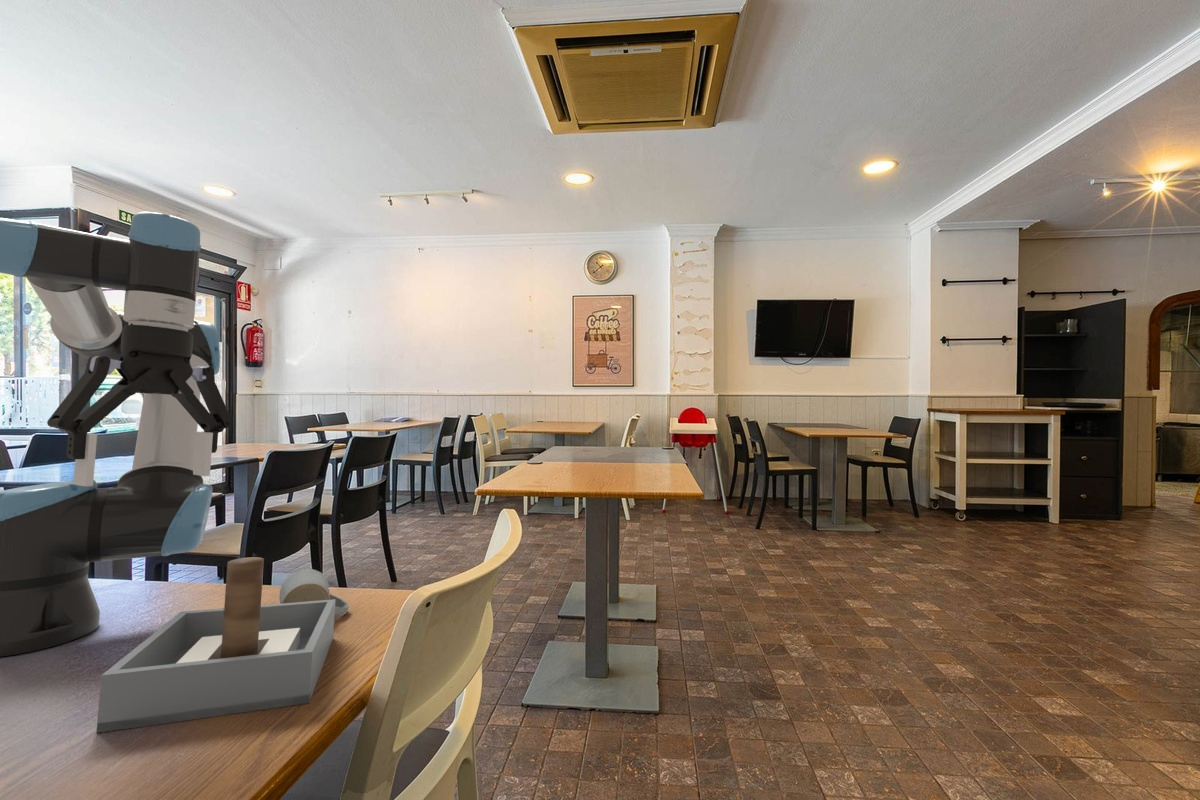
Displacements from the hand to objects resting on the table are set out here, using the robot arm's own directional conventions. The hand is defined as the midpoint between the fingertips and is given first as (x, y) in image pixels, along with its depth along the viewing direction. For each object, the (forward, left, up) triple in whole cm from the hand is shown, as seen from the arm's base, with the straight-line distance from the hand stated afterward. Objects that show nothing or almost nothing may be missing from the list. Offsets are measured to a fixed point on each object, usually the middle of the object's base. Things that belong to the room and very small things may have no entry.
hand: (147, 480), depth 70 cm
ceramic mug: (-14, +19, -26) cm, 35 cm away
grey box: (+7, +14, -25) cm, 30 cm away
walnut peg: (+7, +14, -24) cm, 29 cm away
